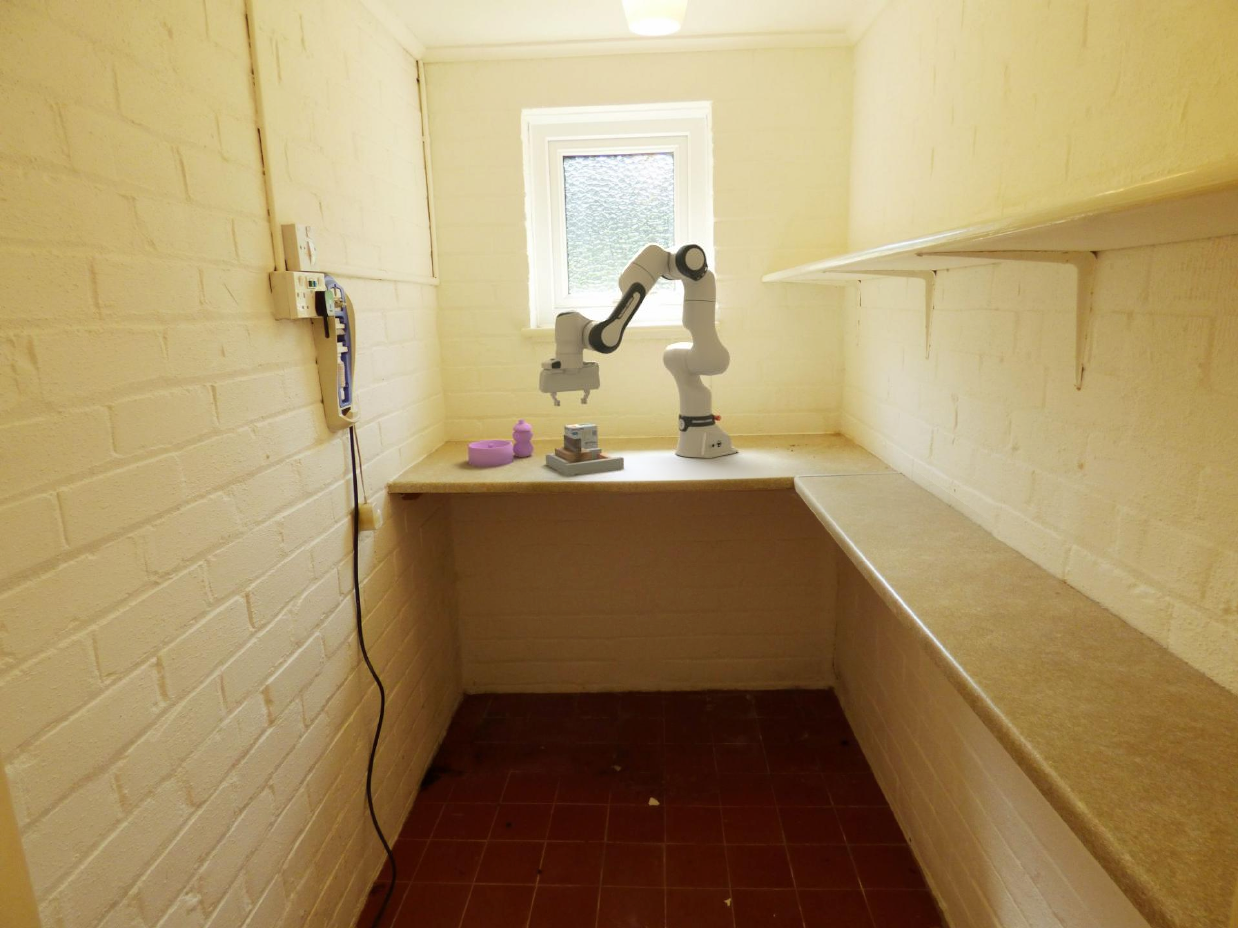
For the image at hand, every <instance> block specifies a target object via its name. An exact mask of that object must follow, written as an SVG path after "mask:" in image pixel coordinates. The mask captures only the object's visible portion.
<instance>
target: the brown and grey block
mask: <svg viewBox="0 0 1238 928" xmlns="http://www.w3.org/2000/svg"><path fill="white" fill-rule="evenodd" d="M554 453H555V455H556V456H558V457H560V458H562V459H564V460H566V461H568V462H569V463H577V462H584V461H592V460H591V451H589V450H586V449H584V448H582V447H581V438H579V437H577V436H574V435H572V434H565V433H564V434H563V446H561V447H554Z"/></svg>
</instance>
